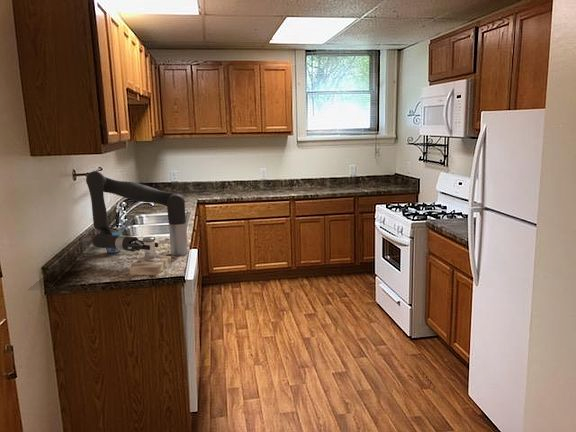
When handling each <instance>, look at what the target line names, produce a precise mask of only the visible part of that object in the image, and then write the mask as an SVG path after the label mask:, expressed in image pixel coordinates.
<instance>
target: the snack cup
mask: <svg viewBox="0 0 576 432" xmlns="http://www.w3.org/2000/svg"><path fill="white" fill-rule="evenodd" d="M111 233H112V235H119V236H123V233H120V232H111ZM105 250H106V253H107V254H118V253H120V252H121V251H122V250H119V249H113V248H105Z"/></svg>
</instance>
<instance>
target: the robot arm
mask: <svg viewBox="0 0 576 432" xmlns="http://www.w3.org/2000/svg"><path fill="white" fill-rule="evenodd" d="M85 182H86V184H87V188H88V190H89V191H88V192H89V195H90V199H91V200H90V203H91V211H92V221H93V222H92V223H93V228H94V229H95V230H98V231H99V233H97V234H94V235H93V237H92V239H91V243H92V245H93V246H94V247H95V248H97V249H98V248H99V249H106V248H113V249H119V250H121V251H123V252H124V251H125V252H132V253H133V252H139V251H144V250H150V245H144V241H143V239H139V238H138V237H136V236H132V235H122V236H119V235H112V233H113V232H112V231H111V227H110V225H109V219H108V212H107V207H106V203H105V197H104V193H109V194H113V195H116V196H119V197H122V198H126V199H128V200H131V201H132V200H133V201H136V202H139V203H147V204H150V203H151V204H159V205H162V206H166V209H167V219H168V229H169V245H170V255H171V256H177V257H178V256H184V255H187V254H189V248H188V233H187V231H188V230H187V218H186V206H185V205H186V199H185V198H184V196H183V195H182V194H180V193H177V192H169V191H165V190H159V189H157V188H154V187H151V186H149V185H145V184H141V183H137V182H133V181H123V180H115V179H113V178H109V177H106V176H104V175H103V174H102V172H99V171H95V170H94V171H91V172H89V173H88V174H87V175H86V178H85ZM155 248H159V242H156V241H155Z"/></svg>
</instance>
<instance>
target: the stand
mask: <svg viewBox="0 0 576 432" xmlns="http://www.w3.org/2000/svg"><path fill="white" fill-rule="evenodd" d="M171 264H172V255H171V256H169V255H168V256H167V255H165V256H160V255H159V256H157V255H156V258H154V259H145V255H143V256H142V257H141V258H140V259H138V260H137V261H135V262H134V263H133V264H131V265H130V266H129V275H131V276H137V275H138V276H140V275H141V276H142V275H143V276H147V275H149V276H150V275H151V276H159V275H161V274H162V273H163V272H164V271H165V270H166V269H167V268H168V267H170V266H171Z"/></svg>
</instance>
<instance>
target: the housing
mask: <svg viewBox="0 0 576 432" xmlns="http://www.w3.org/2000/svg"><path fill="white" fill-rule="evenodd" d="M142 240H143V241H144V245H150V250H144V249H143V252H144V256H145V259H154V258H156V256H157V254H156V253H157V252H156V247H155V242H156V241H155V240H156V237H155V236H145V237H142Z"/></svg>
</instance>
